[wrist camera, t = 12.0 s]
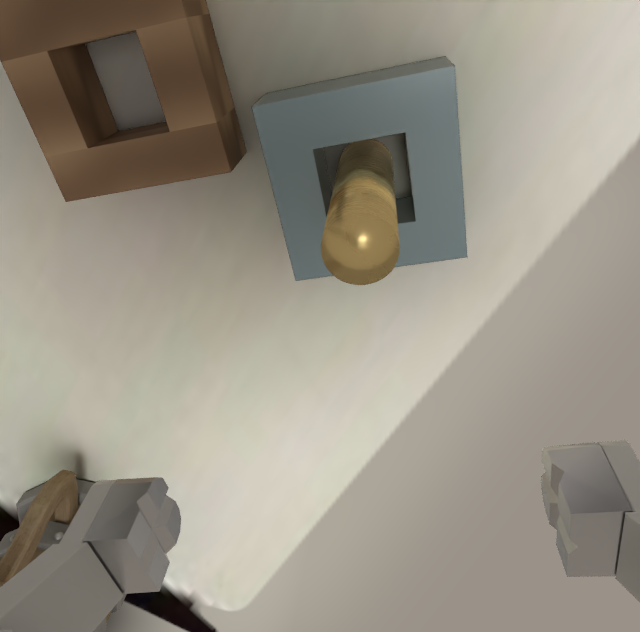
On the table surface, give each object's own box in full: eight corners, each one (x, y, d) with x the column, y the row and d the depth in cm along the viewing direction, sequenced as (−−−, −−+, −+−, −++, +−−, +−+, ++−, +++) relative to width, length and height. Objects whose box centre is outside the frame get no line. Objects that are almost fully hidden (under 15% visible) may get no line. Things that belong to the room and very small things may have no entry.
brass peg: (334, 143, 31) (313, 219, 21) (388, 133, 31) (394, 206, 20) (344, 195, 33) (328, 289, 23) (395, 187, 32) (404, 279, 22)
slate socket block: (265, 93, 30) (251, 106, 27) (445, 56, 28) (454, 65, 25) (303, 252, 35) (295, 280, 32) (458, 229, 33) (467, 257, 30)
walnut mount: (21, 1, 29) (-27, 2, 25) (193, -45, 27) (167, -49, 24) (97, 180, 34) (65, 201, 30) (246, 152, 32) (231, 172, 29)
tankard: (151, 570, 56) (85, 739, 44) (33, 545, 56) (-68, 709, 43) (159, 439, 46) (75, 613, 33) (13, 407, 45) (-128, 571, 33)
